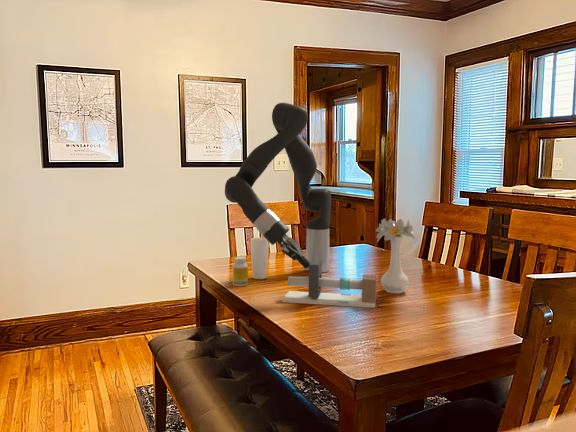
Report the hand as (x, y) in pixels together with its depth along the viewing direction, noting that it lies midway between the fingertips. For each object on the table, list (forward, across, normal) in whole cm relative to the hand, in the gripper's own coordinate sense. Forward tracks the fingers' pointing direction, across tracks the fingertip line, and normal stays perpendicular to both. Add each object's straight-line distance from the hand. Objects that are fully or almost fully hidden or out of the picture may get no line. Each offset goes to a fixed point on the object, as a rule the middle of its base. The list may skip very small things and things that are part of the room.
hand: (308, 266), depth 157 cm
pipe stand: (+12, -1, -3) cm, 13 cm away
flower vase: (+26, -18, +11) cm, 33 cm away
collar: (+8, -1, -5) cm, 9 cm away
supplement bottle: (-11, -14, -27) cm, 32 cm away
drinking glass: (-8, -26, -24) cm, 36 cm away
